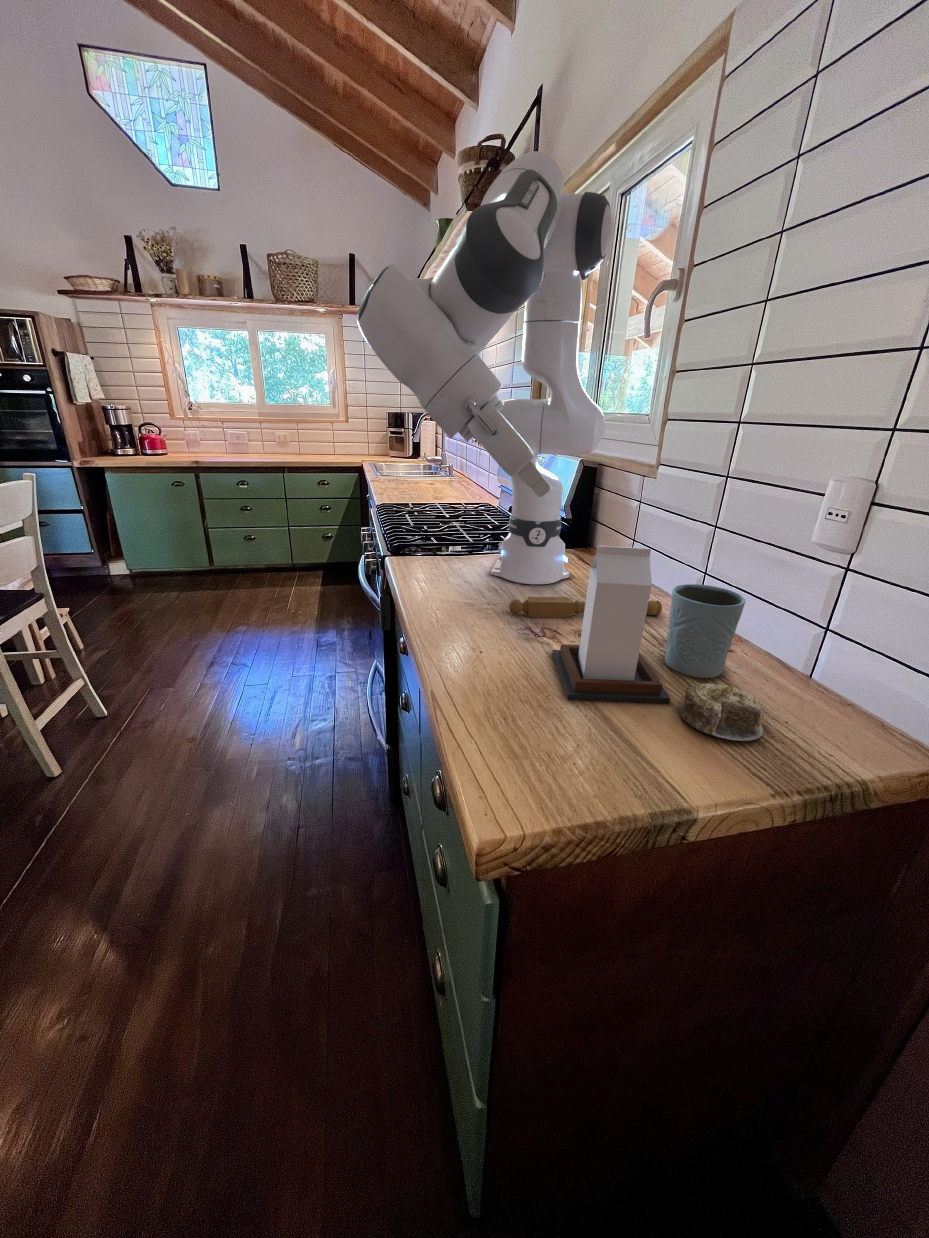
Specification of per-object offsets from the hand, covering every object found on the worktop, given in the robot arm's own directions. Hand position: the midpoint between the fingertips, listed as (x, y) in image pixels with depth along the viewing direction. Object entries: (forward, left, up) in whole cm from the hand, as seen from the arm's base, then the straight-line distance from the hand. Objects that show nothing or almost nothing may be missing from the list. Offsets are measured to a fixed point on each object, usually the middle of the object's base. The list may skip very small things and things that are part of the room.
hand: (540, 487), depth 64 cm
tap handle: (-25, +14, -28) cm, 40 cm away
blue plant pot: (-5, +27, -28) cm, 39 cm away
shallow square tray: (0, +12, -27) cm, 30 cm away
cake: (+11, +24, -28) cm, 38 cm away
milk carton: (0, +12, -27) cm, 29 cm away
